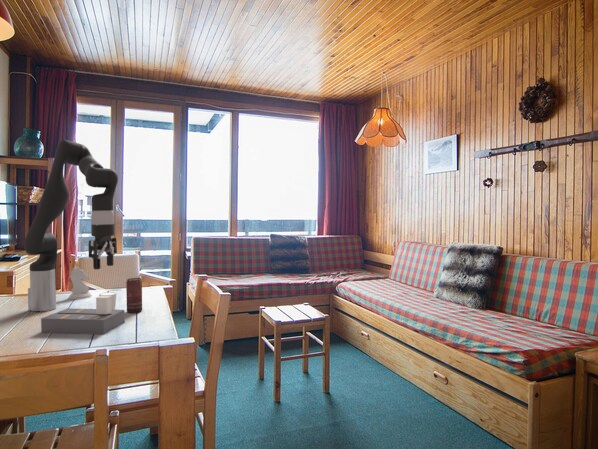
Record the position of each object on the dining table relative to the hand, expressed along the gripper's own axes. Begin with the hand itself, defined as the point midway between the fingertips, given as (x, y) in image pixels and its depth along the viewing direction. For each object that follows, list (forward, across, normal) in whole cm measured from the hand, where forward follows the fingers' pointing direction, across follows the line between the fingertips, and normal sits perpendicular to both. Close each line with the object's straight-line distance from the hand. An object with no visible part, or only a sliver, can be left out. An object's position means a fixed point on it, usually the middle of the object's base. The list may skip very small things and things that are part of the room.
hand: (103, 267), depth 144 cm
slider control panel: (+22, 0, -8) cm, 24 cm away
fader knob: (+19, 0, 0) cm, 19 cm away
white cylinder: (+22, -25, -13) cm, 36 cm away
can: (+22, -23, 0) cm, 32 cm away
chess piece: (+22, -47, -40) cm, 66 cm away
